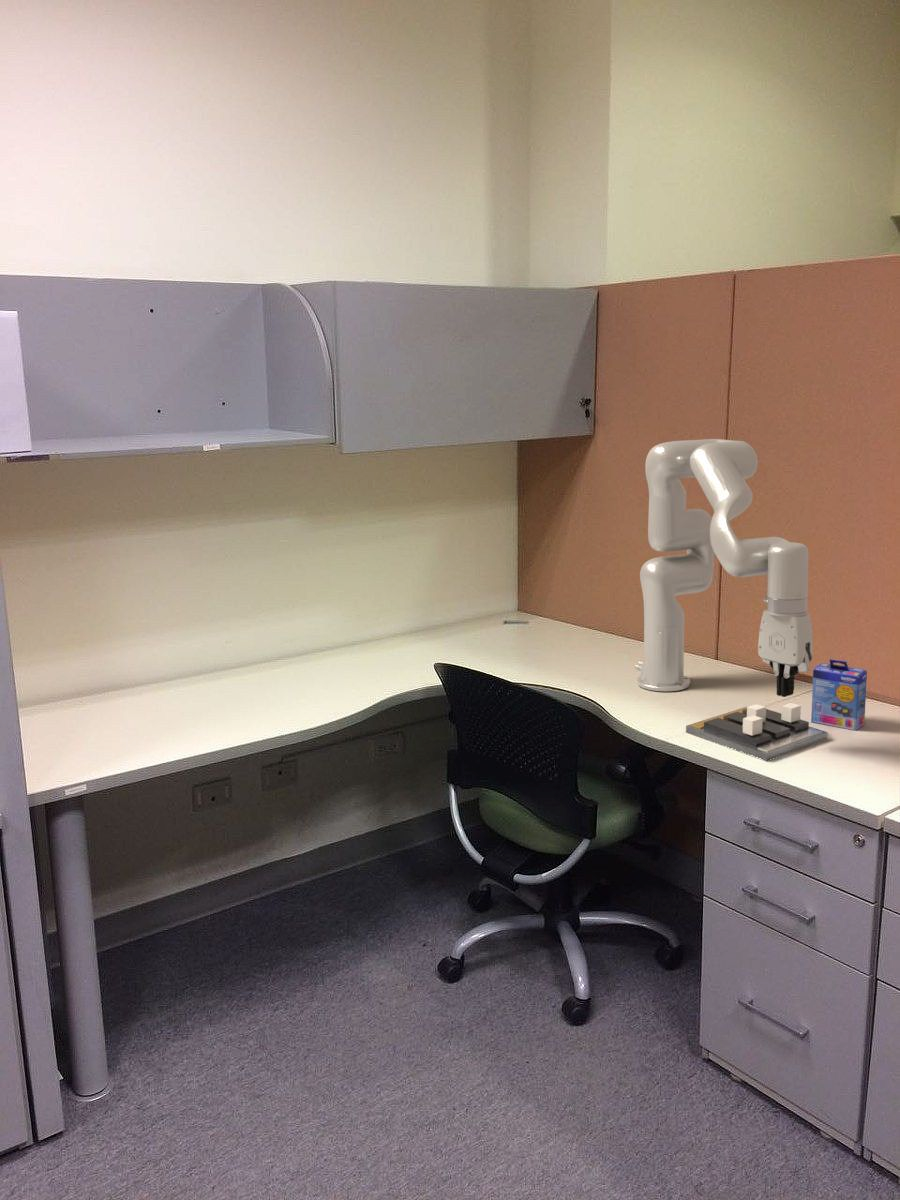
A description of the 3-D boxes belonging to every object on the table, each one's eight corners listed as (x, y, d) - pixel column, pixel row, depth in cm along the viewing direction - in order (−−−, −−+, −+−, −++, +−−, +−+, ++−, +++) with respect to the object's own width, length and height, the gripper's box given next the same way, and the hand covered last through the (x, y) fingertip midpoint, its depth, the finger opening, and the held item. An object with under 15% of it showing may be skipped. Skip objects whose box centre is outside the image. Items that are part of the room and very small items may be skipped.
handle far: (781, 719, 210) (781, 705, 209) (790, 716, 212) (791, 702, 211) (790, 722, 208) (791, 708, 207) (800, 719, 210) (800, 705, 209)
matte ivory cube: (746, 720, 210) (747, 707, 209) (756, 717, 212) (756, 704, 211) (755, 723, 208) (756, 710, 207) (765, 720, 210) (766, 706, 209)
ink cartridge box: (809, 722, 217) (812, 658, 214) (818, 715, 221) (821, 651, 218) (856, 731, 211) (860, 665, 208) (865, 724, 215) (868, 658, 212)
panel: (686, 732, 214) (686, 719, 213) (745, 713, 224) (746, 700, 224) (766, 761, 197) (767, 746, 196) (827, 739, 207) (828, 725, 206)
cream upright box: (742, 732, 204) (742, 718, 203) (752, 729, 205) (752, 715, 204) (752, 735, 202) (752, 721, 201) (762, 732, 203) (762, 718, 203)
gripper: (744, 603, 203) (742, 690, 206) (807, 614, 191) (804, 707, 194) (768, 597, 207) (767, 683, 211) (831, 608, 195) (829, 699, 198)
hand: (785, 694), depth 202 cm, fingers closed
